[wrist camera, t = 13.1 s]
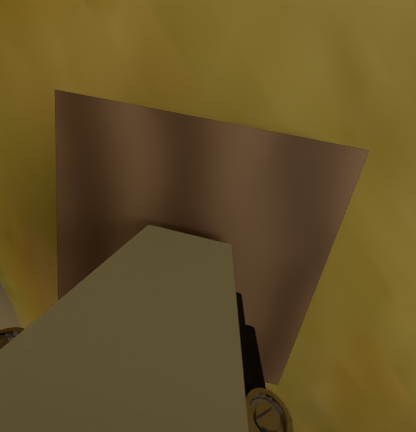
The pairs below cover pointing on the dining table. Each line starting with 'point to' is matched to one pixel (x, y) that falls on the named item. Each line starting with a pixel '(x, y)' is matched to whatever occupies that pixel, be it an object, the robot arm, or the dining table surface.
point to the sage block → (134, 346)
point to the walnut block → (203, 202)
